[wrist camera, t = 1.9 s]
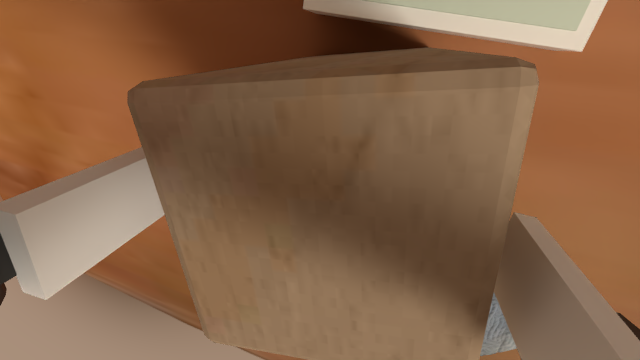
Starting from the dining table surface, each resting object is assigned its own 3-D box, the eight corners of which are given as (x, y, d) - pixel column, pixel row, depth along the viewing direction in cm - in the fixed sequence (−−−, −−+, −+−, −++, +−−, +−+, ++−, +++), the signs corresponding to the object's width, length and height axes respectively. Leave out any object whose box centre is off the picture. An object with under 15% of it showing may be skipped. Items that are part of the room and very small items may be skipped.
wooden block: (319, 164, 29) (202, 346, 12) (310, 56, 25) (111, 84, 8) (424, 166, 27) (477, 397, 9) (433, 46, 23) (556, 57, 5)
